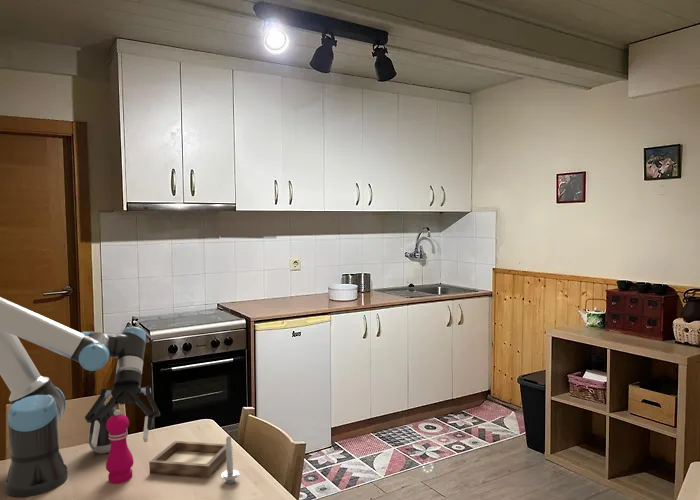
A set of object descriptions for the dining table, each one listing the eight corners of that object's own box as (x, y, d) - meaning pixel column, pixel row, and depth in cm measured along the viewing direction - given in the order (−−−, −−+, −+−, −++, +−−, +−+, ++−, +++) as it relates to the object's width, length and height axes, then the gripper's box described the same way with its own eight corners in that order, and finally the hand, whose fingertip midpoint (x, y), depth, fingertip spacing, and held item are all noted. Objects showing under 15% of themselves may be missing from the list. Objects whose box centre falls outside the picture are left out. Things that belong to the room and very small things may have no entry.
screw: (239, 476, 152) (238, 485, 147) (222, 478, 151) (220, 486, 146) (238, 431, 151) (236, 439, 146) (220, 433, 150) (218, 440, 145)
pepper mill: (124, 485, 148) (120, 415, 147) (101, 483, 149) (96, 413, 148) (139, 473, 155) (135, 405, 154) (117, 471, 156) (113, 404, 155)
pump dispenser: (87, 460, 164) (84, 411, 163) (89, 446, 174) (87, 401, 173) (123, 453, 168) (121, 406, 167) (123, 441, 178) (121, 396, 177)
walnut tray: (149, 473, 155) (149, 461, 154) (175, 451, 169) (174, 440, 168) (209, 478, 151) (208, 466, 151) (230, 455, 165) (229, 444, 165)
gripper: (172, 377, 169) (167, 443, 155) (88, 383, 165) (75, 452, 151) (169, 365, 163) (164, 432, 150) (81, 371, 159) (68, 441, 145)
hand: (119, 442), depth 150 cm, fingers open, 13 cm apart
